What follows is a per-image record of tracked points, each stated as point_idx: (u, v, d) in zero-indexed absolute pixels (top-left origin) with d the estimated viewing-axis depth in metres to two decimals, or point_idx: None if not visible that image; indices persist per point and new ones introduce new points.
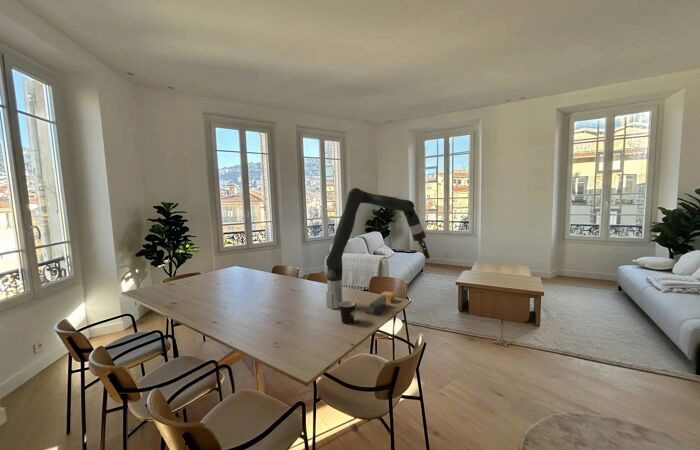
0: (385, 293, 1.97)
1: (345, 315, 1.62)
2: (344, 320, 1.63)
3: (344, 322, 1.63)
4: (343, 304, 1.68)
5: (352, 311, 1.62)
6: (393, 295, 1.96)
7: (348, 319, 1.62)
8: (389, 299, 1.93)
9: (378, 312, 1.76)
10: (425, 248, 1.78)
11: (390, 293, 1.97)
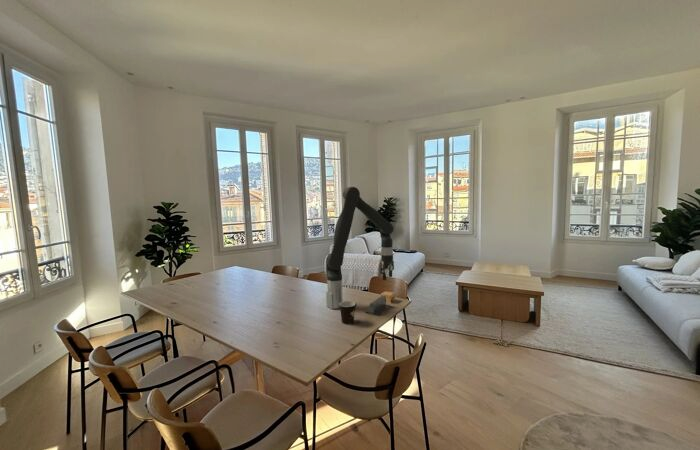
0: (385, 293, 1.97)
1: (345, 315, 1.62)
2: (344, 320, 1.63)
3: (344, 322, 1.63)
4: (343, 304, 1.68)
5: (352, 311, 1.62)
6: (393, 295, 1.96)
7: (348, 319, 1.62)
8: (389, 299, 1.93)
9: (378, 312, 1.76)
10: (385, 270, 1.92)
11: (390, 293, 1.97)
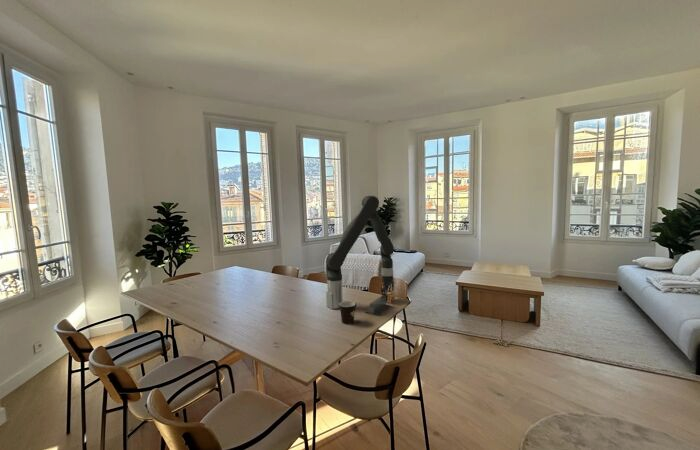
0: None
1: (345, 315, 1.62)
2: (344, 320, 1.63)
3: (344, 322, 1.63)
4: (343, 304, 1.68)
5: (352, 311, 1.62)
6: (393, 295, 1.96)
7: (348, 319, 1.62)
8: (389, 299, 1.93)
9: (378, 312, 1.76)
10: None
11: (390, 293, 1.97)
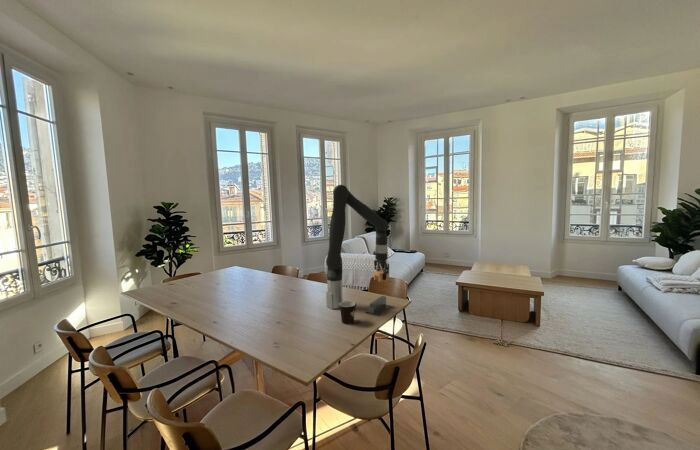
0: (380, 272, 1.86)
1: (345, 315, 1.62)
2: (344, 320, 1.63)
3: (344, 322, 1.63)
4: (343, 304, 1.68)
5: (352, 311, 1.62)
6: None
7: (348, 319, 1.62)
8: (388, 276, 1.86)
9: (378, 312, 1.76)
10: None
11: None
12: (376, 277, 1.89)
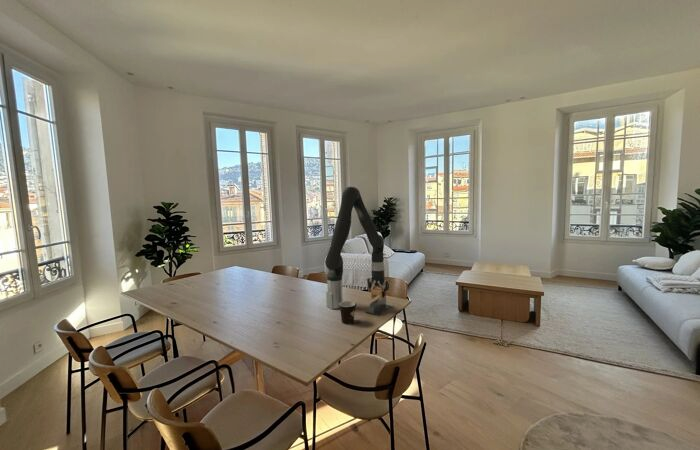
0: (378, 290, 1.80)
1: (345, 315, 1.62)
2: (344, 320, 1.63)
3: (344, 322, 1.63)
4: (343, 304, 1.68)
5: (352, 311, 1.62)
6: None
7: (348, 319, 1.62)
8: None
9: (378, 312, 1.76)
10: (383, 287, 1.80)
11: (378, 288, 1.83)
12: (373, 296, 1.81)
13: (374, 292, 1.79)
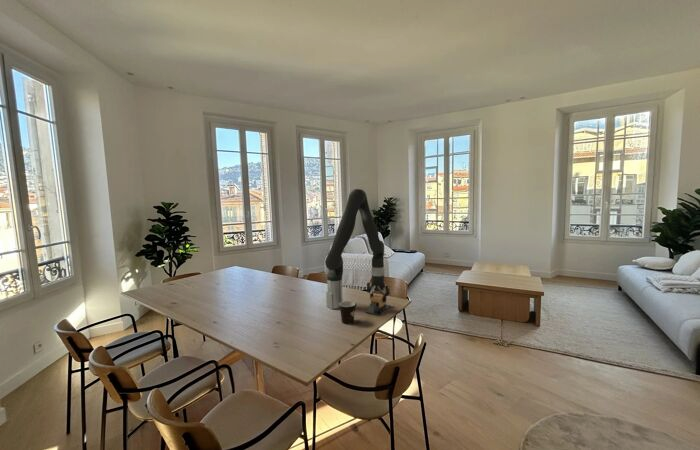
0: (378, 297, 1.80)
1: (345, 315, 1.62)
2: (344, 320, 1.63)
3: (344, 322, 1.63)
4: (343, 304, 1.68)
5: (352, 311, 1.62)
6: None
7: (348, 319, 1.62)
8: None
9: (378, 312, 1.76)
10: (384, 291, 1.80)
11: (378, 295, 1.83)
12: None
13: (374, 299, 1.79)
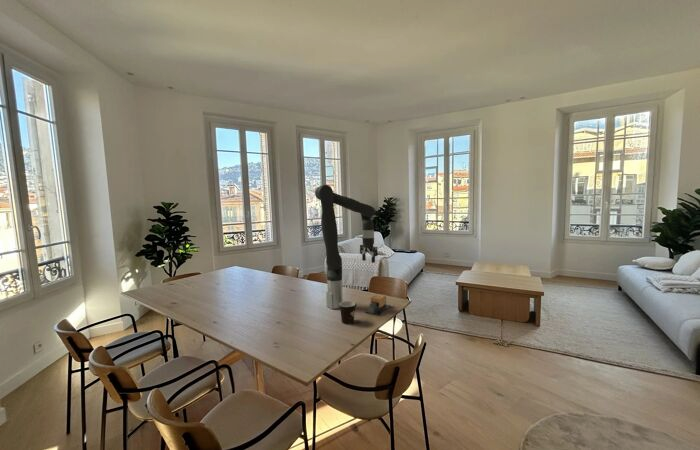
0: (378, 297, 1.80)
1: (345, 315, 1.62)
2: (344, 320, 1.63)
3: (344, 322, 1.63)
4: (343, 304, 1.68)
5: (352, 311, 1.62)
6: None
7: (348, 319, 1.62)
8: (384, 300, 1.83)
9: (378, 312, 1.76)
10: None
11: (378, 295, 1.83)
12: None
13: (374, 299, 1.79)
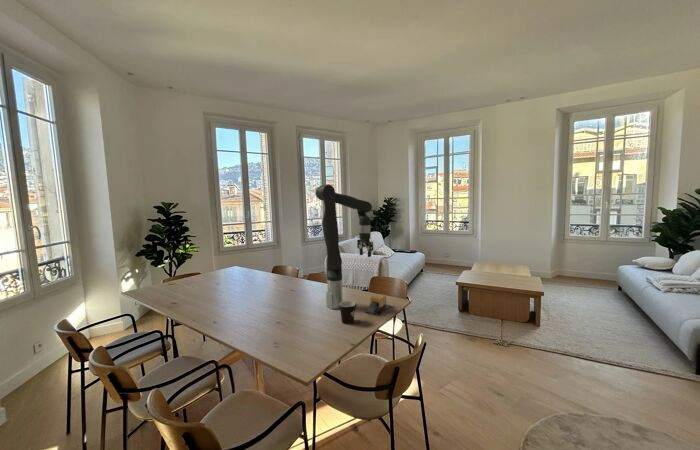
0: (378, 297, 1.80)
1: (345, 315, 1.62)
2: (344, 320, 1.63)
3: (344, 322, 1.63)
4: (343, 304, 1.68)
5: (352, 311, 1.62)
6: None
7: (348, 319, 1.62)
8: (384, 300, 1.83)
9: (378, 312, 1.76)
10: None
11: (378, 295, 1.83)
12: None
13: (374, 299, 1.79)
